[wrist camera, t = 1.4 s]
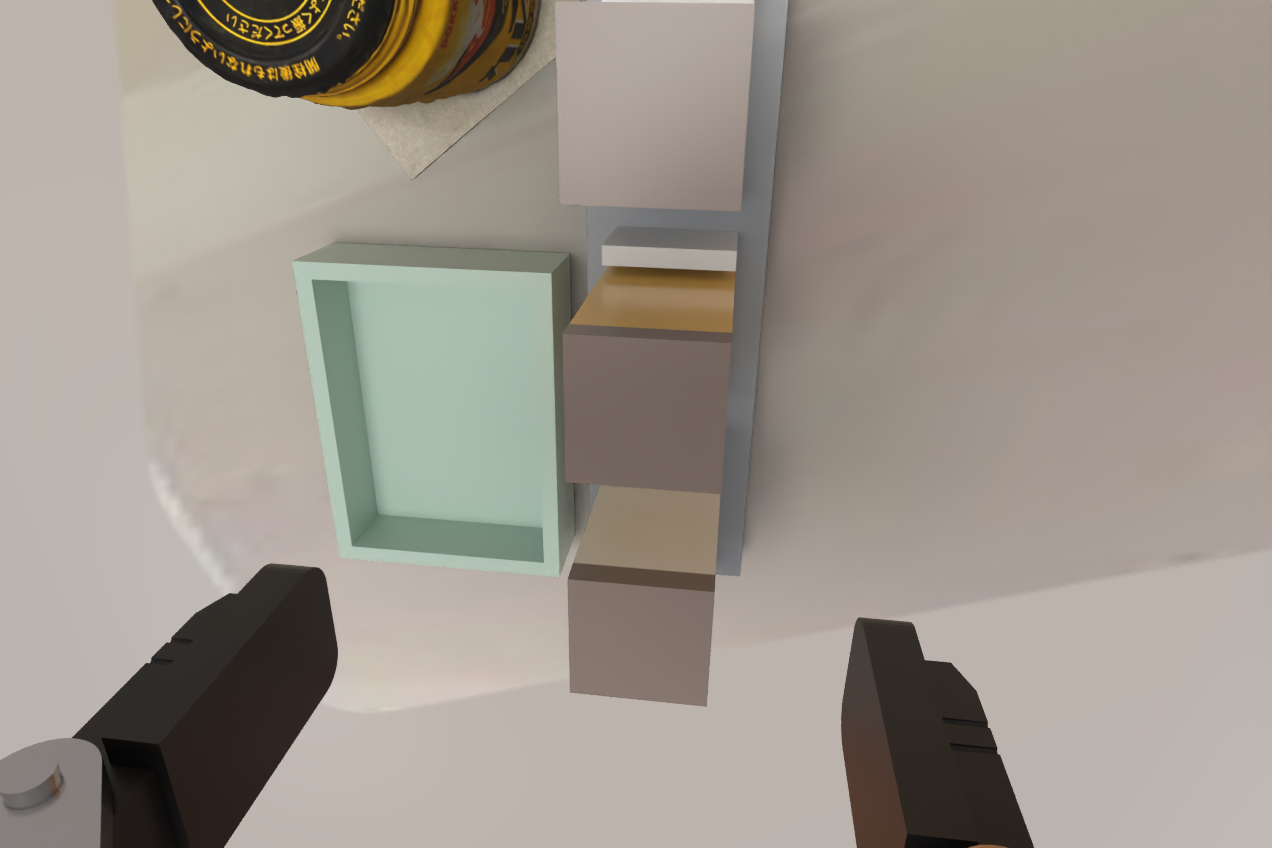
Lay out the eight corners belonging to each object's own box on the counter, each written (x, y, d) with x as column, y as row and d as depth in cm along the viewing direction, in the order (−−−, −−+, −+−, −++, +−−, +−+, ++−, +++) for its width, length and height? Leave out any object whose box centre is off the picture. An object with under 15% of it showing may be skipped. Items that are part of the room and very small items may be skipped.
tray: (569, 253, 29) (551, 273, 27) (574, 534, 34) (559, 577, 31) (334, 242, 30) (292, 261, 27) (372, 518, 35) (339, 557, 32)
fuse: (736, 259, 27) (731, 343, 19) (728, 372, 28) (721, 494, 20) (616, 253, 27) (562, 333, 19) (615, 365, 29) (565, 482, 21)
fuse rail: (788, -29, 25) (814, -86, 15) (740, 548, 34) (738, 748, 24) (596, -30, 26) (502, -86, 16) (597, 536, 34) (538, 727, 24)
